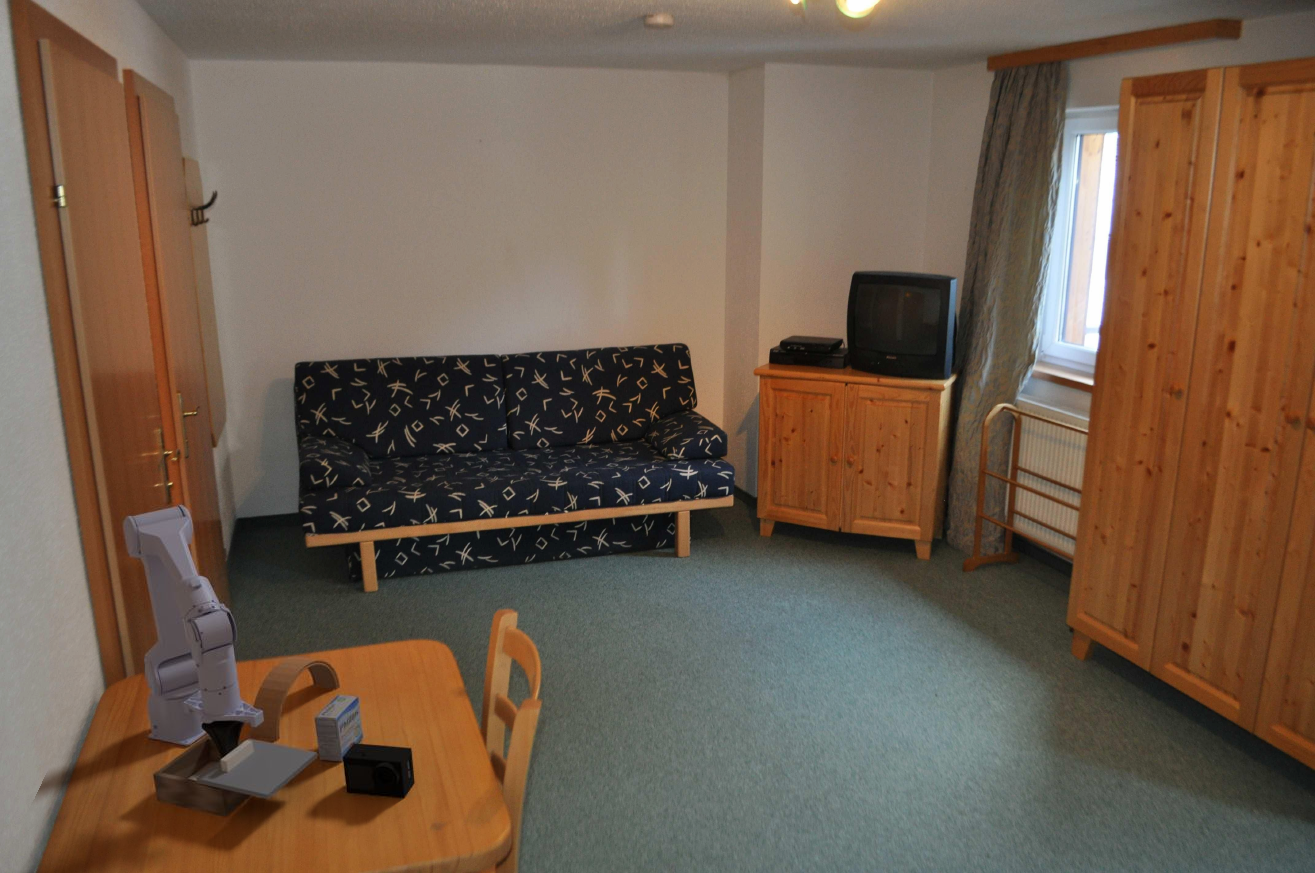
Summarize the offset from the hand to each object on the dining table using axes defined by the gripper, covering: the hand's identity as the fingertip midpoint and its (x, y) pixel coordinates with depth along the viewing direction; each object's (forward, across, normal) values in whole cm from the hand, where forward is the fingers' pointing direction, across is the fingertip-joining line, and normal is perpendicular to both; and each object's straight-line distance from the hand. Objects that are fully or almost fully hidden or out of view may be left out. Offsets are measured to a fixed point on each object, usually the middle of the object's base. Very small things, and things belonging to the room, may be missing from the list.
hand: (229, 755), depth 161 cm
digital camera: (+7, +23, +8) cm, 25 cm away
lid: (+1, +6, 0) cm, 6 cm away
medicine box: (+7, +10, +16) cm, 20 cm away
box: (+7, -4, 0) cm, 8 cm away
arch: (+7, -7, +24) cm, 26 cm away
